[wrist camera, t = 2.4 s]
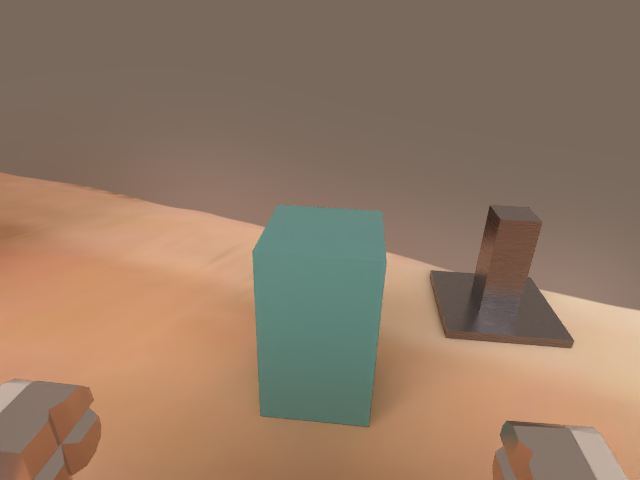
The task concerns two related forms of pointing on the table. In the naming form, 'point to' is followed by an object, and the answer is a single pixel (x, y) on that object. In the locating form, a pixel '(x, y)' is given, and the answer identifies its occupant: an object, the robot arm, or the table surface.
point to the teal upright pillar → (319, 312)
